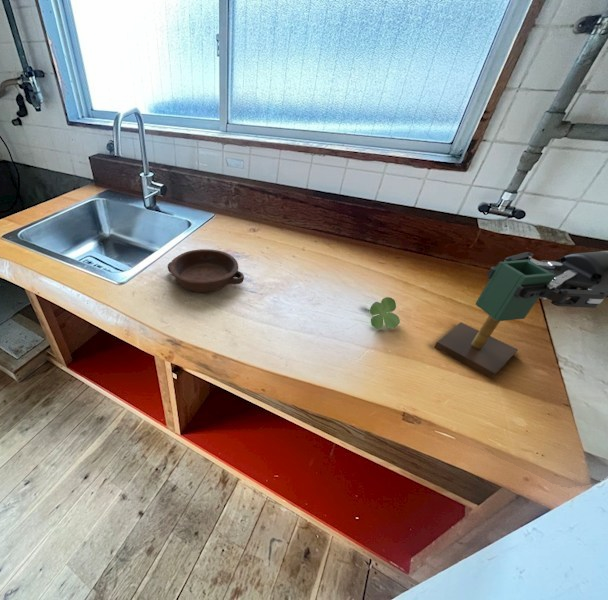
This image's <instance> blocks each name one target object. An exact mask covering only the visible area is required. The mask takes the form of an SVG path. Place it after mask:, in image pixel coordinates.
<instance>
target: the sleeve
mask: <svg viewBox="0 0 608 600" xmlns="http://www.w3.org/2000/svg"><path fill="white" fill-rule="evenodd" d="M496 266H497V267H496V269H495V271H494V273H493V274H492V276H491V278H490V279H489V278H488V281H487V283H486V285H485V286H484V288H483V289H482V291H481V293H480V295H479V296H478V298H477V300H476V302H475V305H476V307H478V308H480V310H482V311H483V312H484V313H486V314H487V315H488V316H489V315H490V316H491V317H492V318H493V319H495V320H496V321H500V322H504V321H513V320H525V318H526V317H527V315H528V314H529V312H531V310H532V308H533V307H534V306H535V304H536V303H537V302H538V300H539V299H540V298H530V299H525V298H519V299H518V298H516V297H515V296H513V294H514V293H515V291H516V290H517V288H518V287H519V286H521V285H529V284H540V283H542V284H544V285H545V284H546V283H548V282H551V281H552V279H553V278H554V276H555V275H554V274H553V273H551V272H549V271H547V270H546V269H544V268H542V267H540V266H538V265H537V264H535V263H533V262H531V261H529V260H528V259H527V260H515V261H504V260H503V261H499V262H498V263H497V265H496Z"/></svg>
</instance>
